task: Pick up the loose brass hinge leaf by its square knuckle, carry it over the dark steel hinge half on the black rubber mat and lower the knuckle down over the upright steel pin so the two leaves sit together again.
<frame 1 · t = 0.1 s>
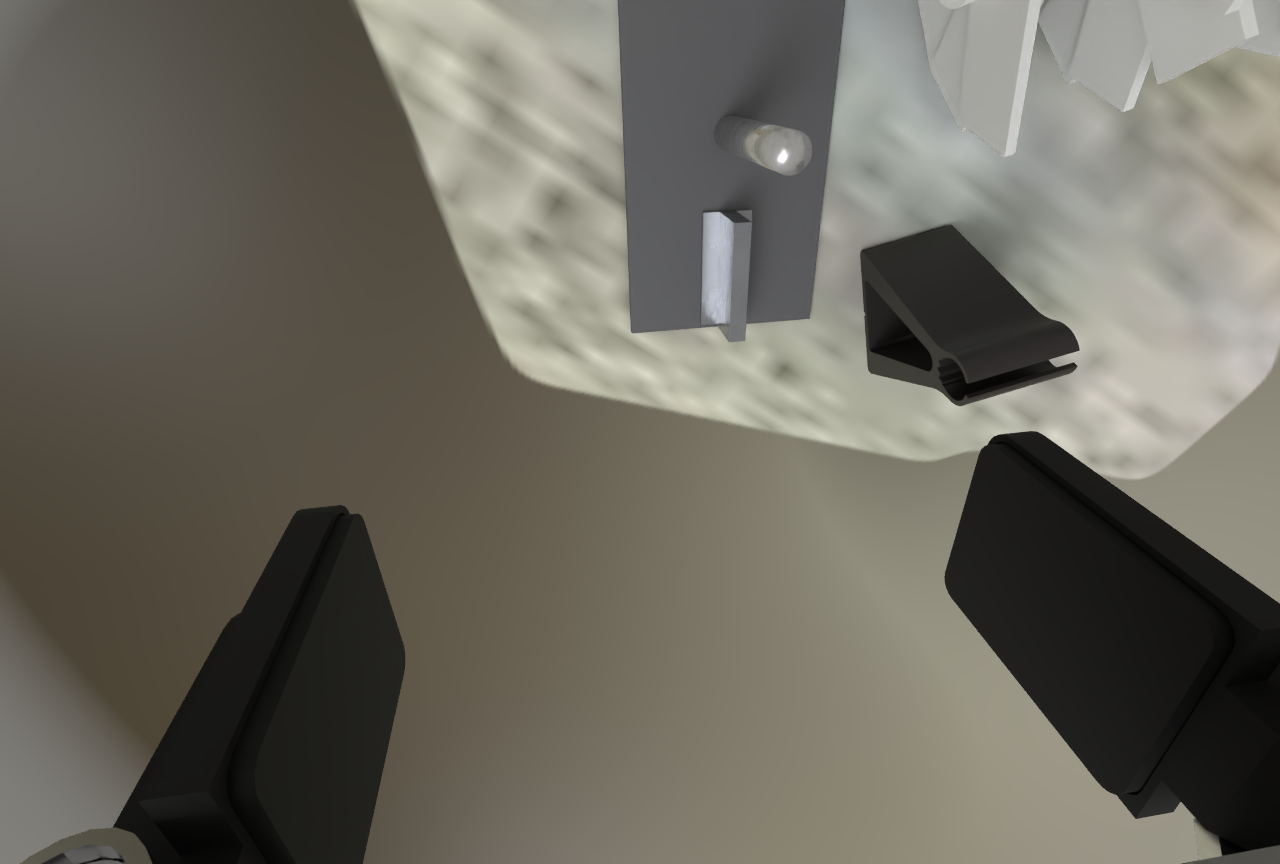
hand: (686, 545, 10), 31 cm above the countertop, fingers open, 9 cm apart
mat: (726, 151, 36), on the countertop
phone stand: (904, 300, 43), on the countertop
fixed leaf: (729, 133, 35), resting on mat
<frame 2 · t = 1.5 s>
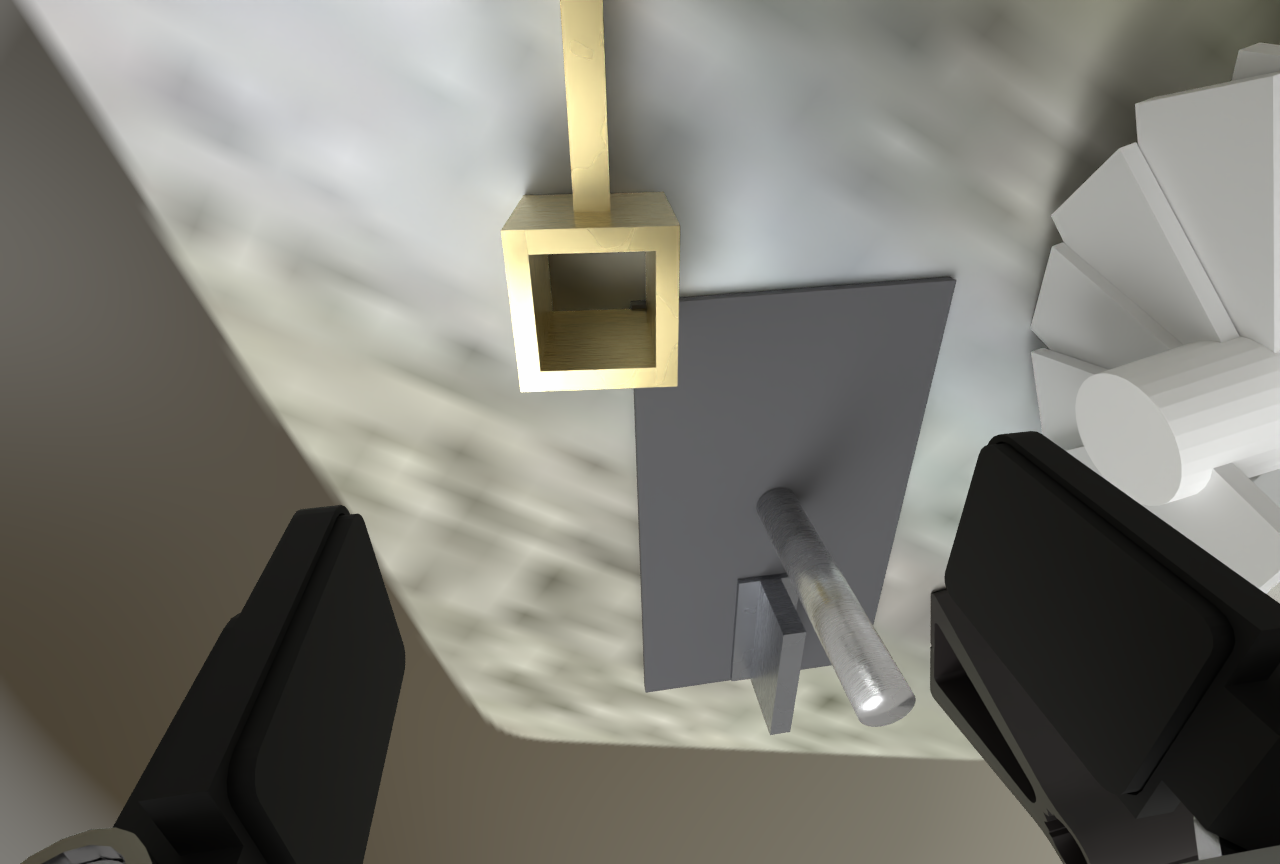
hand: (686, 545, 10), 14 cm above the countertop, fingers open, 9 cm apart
spiral staircase: (1269, 212, 24), on the countertop
mat: (771, 516, 28), on the countertop
phone stand: (979, 627, 35), on the countertop
loose leaf: (597, 263, 21), on the countertop, tilted 6°, touching mat
fixed leaf: (776, 504, 27), resting on mat
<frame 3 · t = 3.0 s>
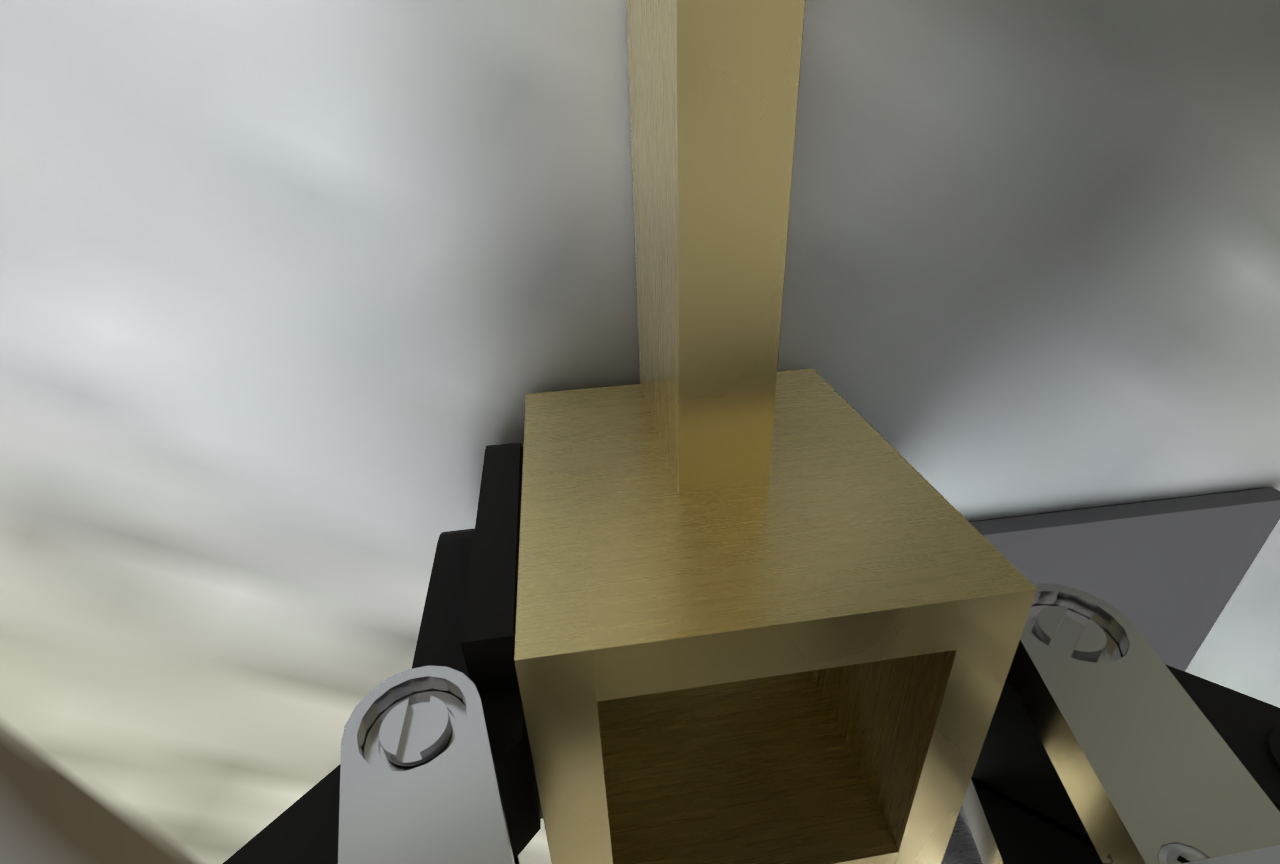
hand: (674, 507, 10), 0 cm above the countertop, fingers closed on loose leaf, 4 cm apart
mat: (904, 814, 18), on the countertop
loose leaf: (674, 501, 10), on the countertop, touching gripper, mat
fixed leaf: (919, 808, 17), resting on mat
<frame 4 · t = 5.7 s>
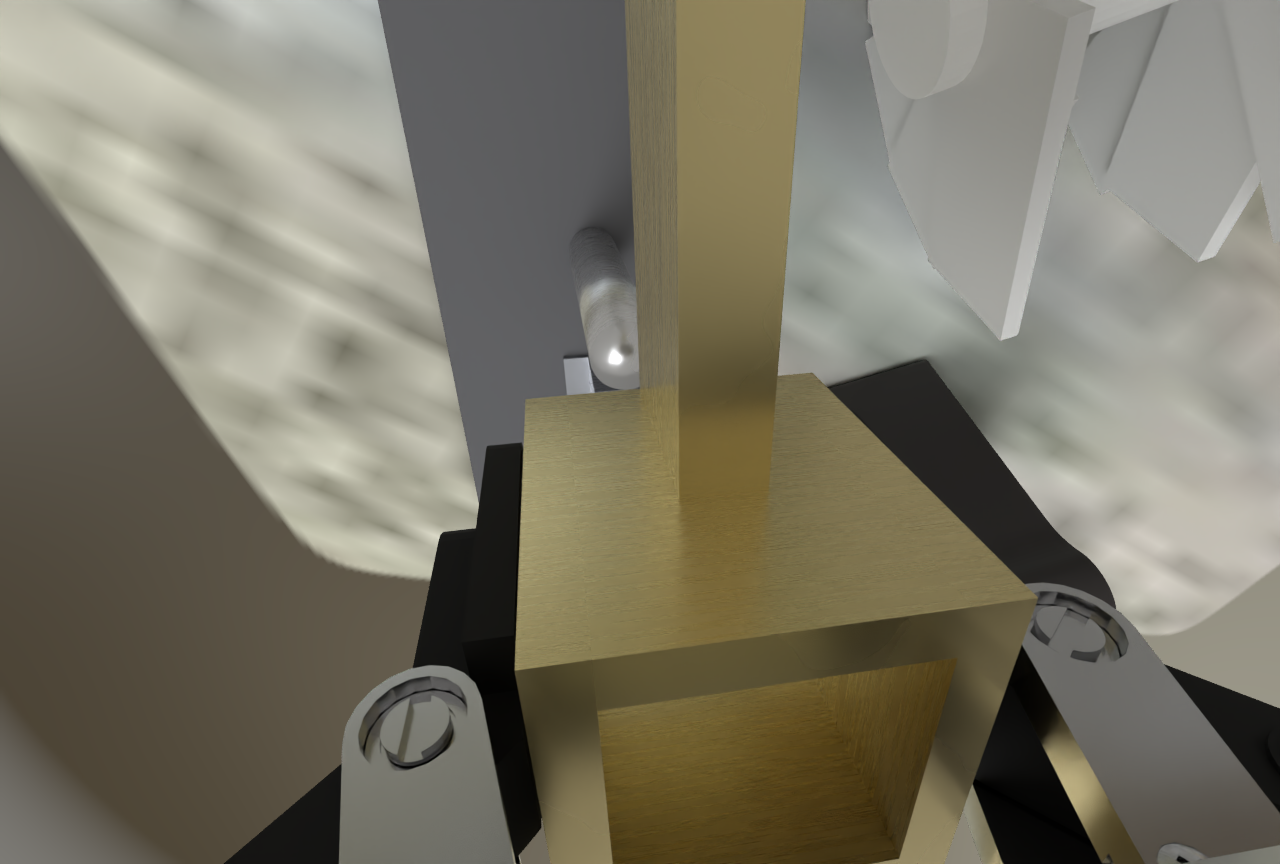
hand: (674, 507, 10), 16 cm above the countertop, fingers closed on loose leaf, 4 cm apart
mat: (593, 274, 25), on the countertop
phone stand: (864, 451, 31), on the countertop
loose leaf: (673, 505, 10), point 16 cm above the countertop, touching gripper
fixed leaf: (592, 251, 24), resting on mat
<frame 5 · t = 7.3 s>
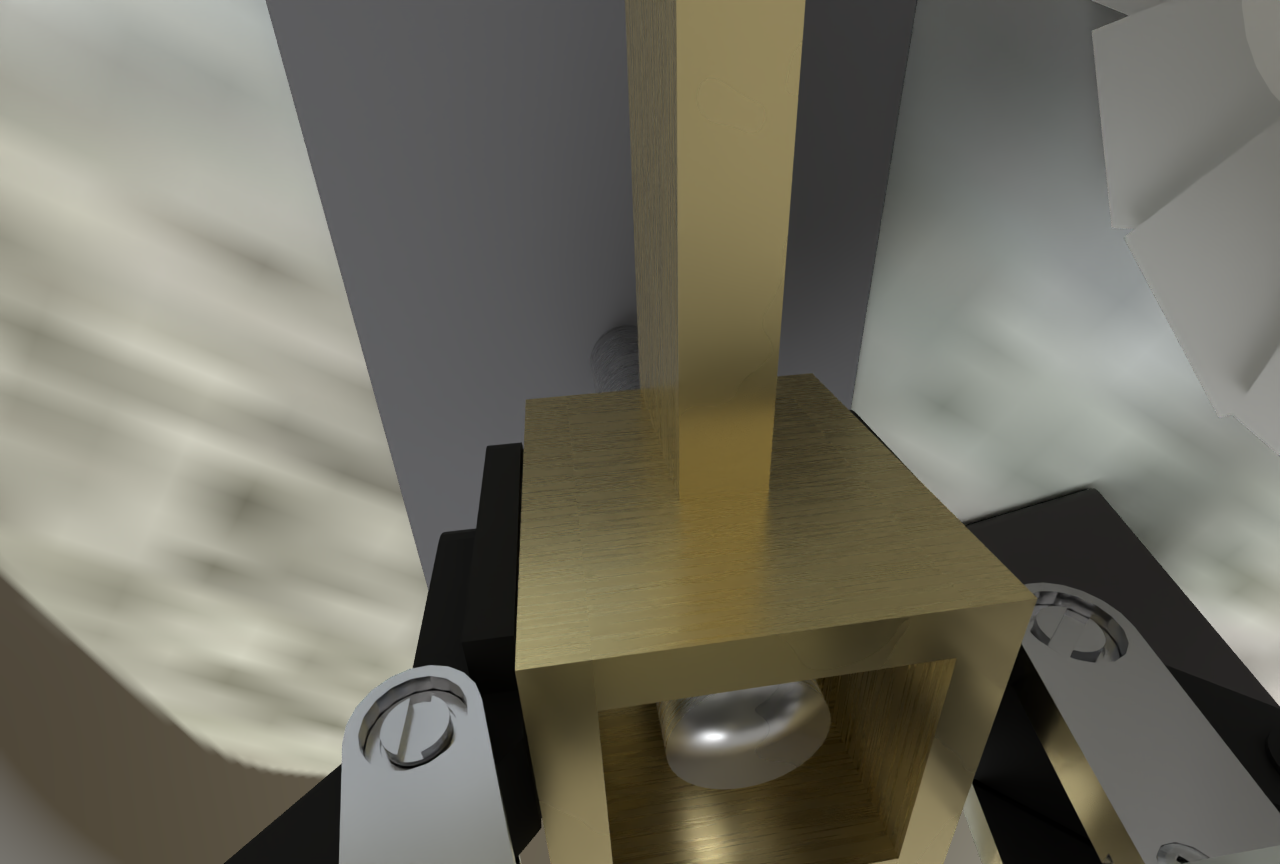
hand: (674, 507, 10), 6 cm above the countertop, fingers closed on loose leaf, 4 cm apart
mat: (626, 389, 16), on the countertop
phone stand: (990, 599, 23), on the countertop
loose leaf: (673, 505, 10), point 6 cm above the countertop, touching gripper
fixed leaf: (627, 360, 15), resting on mat
when the fingers open (2 cm above the countertop, at t = 8.4 s): loose leaf drops 2 cm, resting on mat.
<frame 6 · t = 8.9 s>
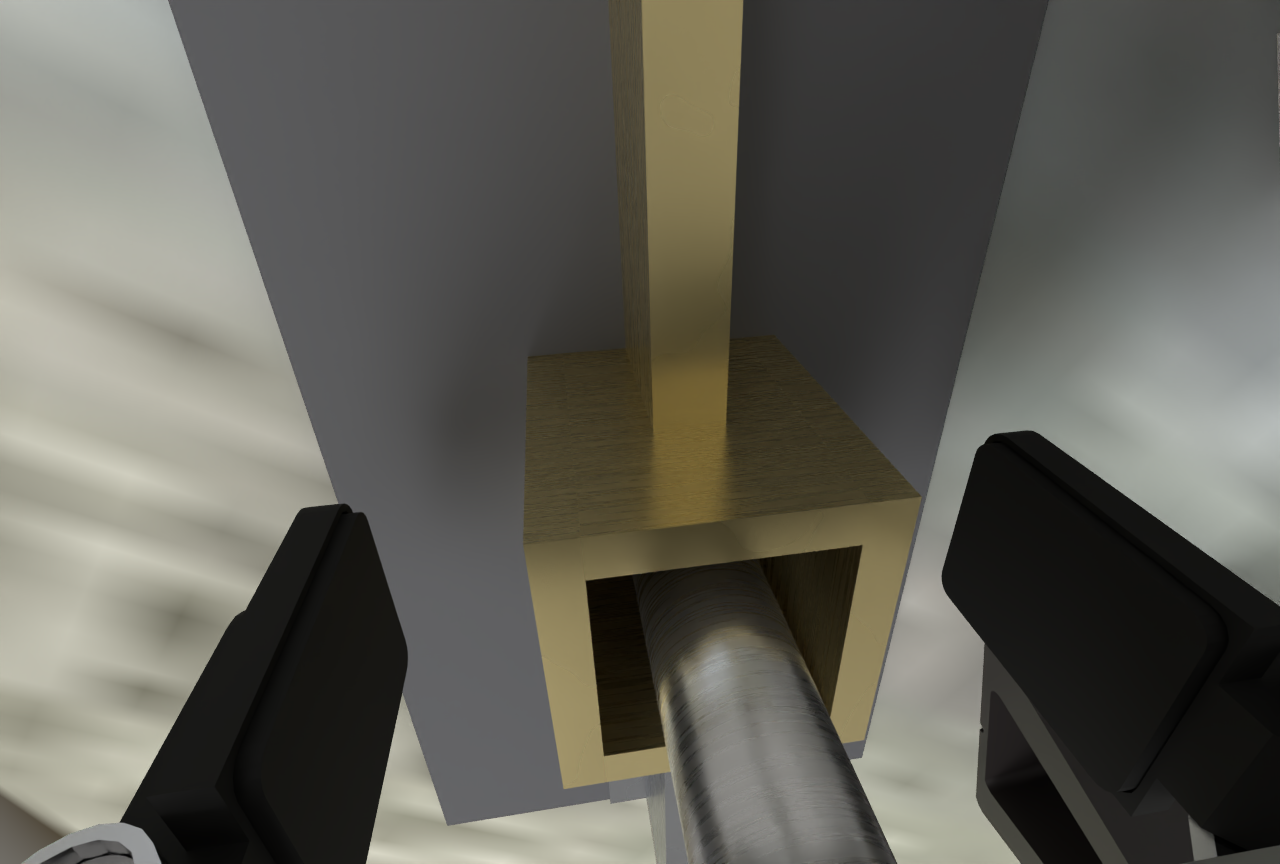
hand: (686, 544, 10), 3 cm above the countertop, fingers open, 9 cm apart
mat: (652, 478, 13), on the countertop
phone stand: (1067, 693, 20), on the countertop
loose leaf: (656, 451, 12), resting on mat
fixed leaf: (655, 447, 12), resting on mat
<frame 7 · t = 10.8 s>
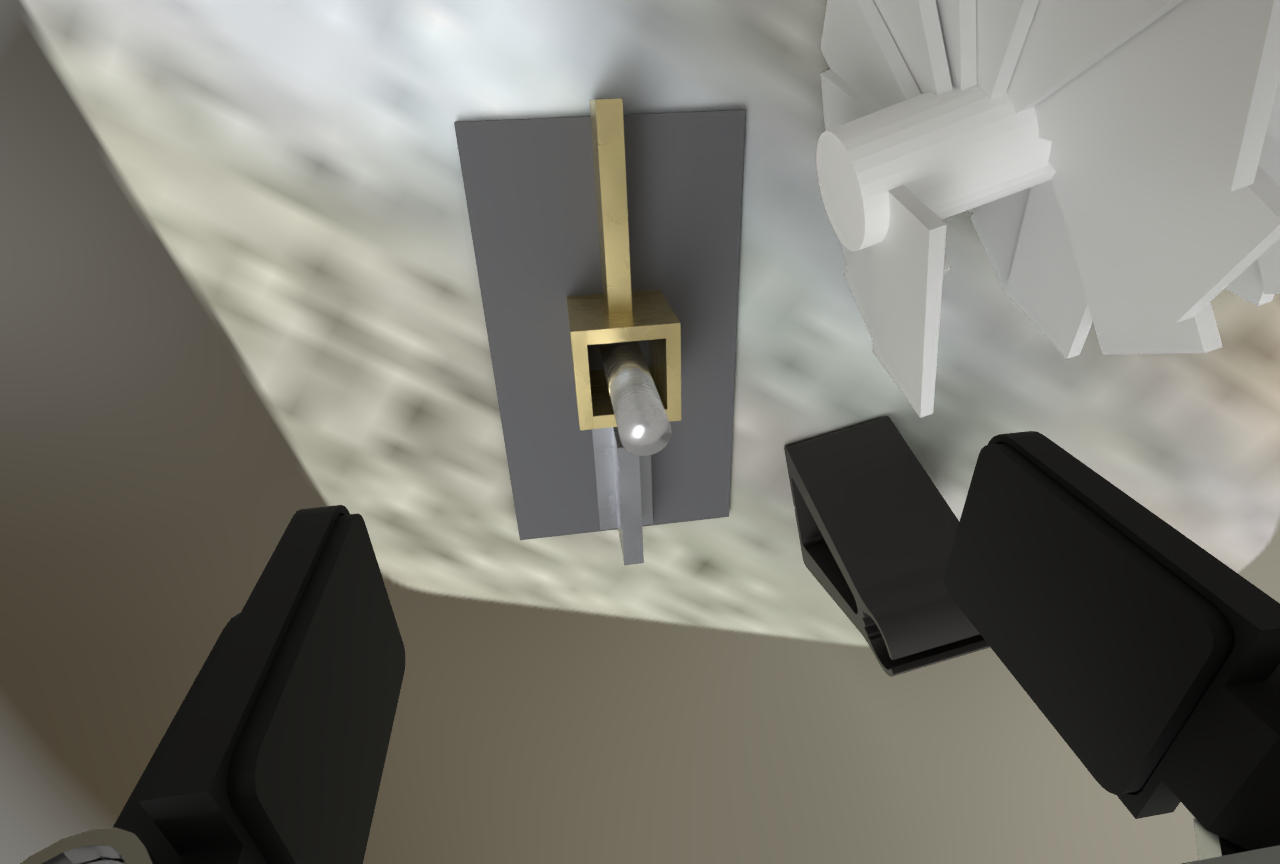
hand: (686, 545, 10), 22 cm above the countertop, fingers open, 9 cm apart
spiral staircase: (1030, 59, 28), on the countertop
mat: (615, 352, 31), on the countertop
phone stand: (840, 490, 37), on the countertop
loose leaf: (616, 337, 30), resting on mat
fixed leaf: (615, 336, 30), resting on mat
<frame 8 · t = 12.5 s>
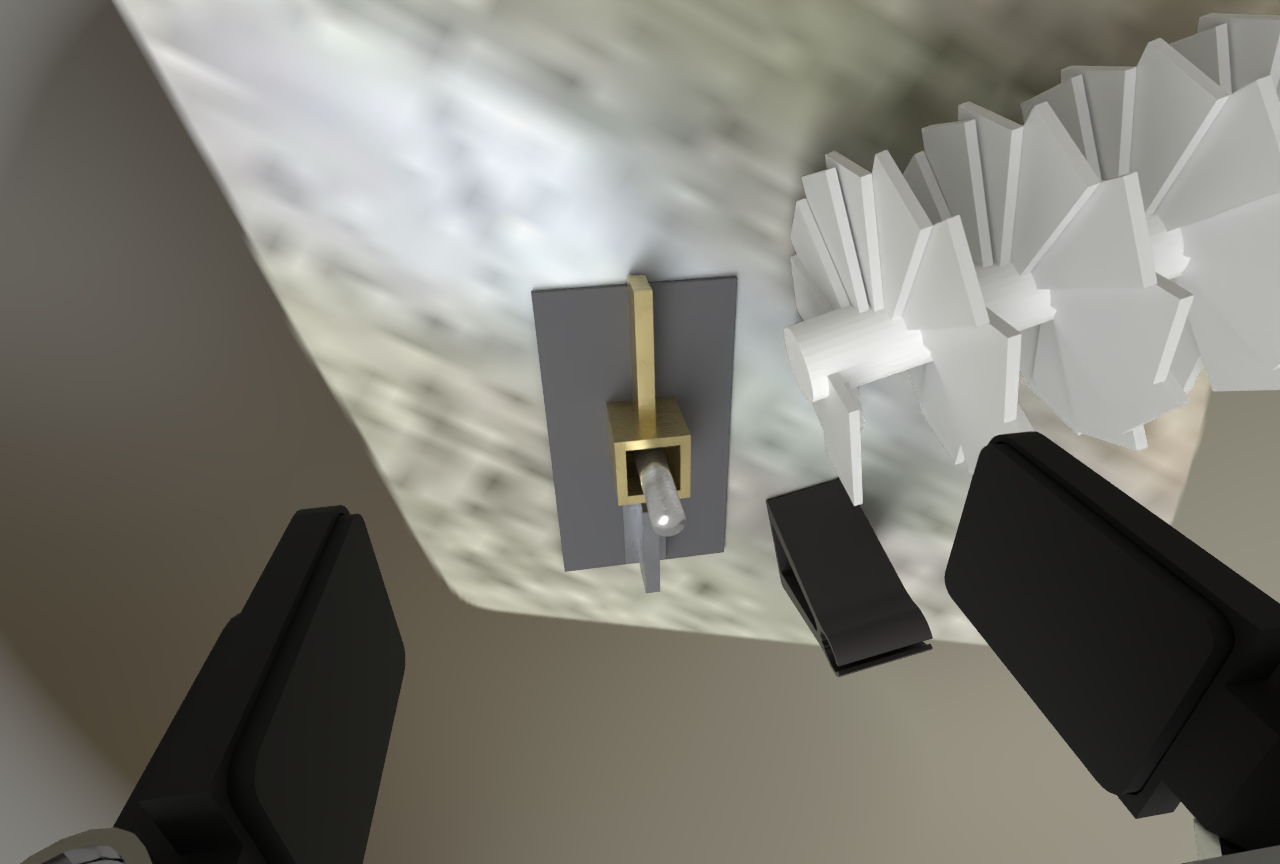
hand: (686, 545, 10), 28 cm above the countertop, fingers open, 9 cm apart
spiral staircase: (942, 235, 38), on the countertop
mat: (640, 438, 42), on the countertop
phone stand: (809, 530, 48), on the countertop
loose leaf: (641, 429, 41), resting on mat
fixed leaf: (640, 428, 41), resting on mat
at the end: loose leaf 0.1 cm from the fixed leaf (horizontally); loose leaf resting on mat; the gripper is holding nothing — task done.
